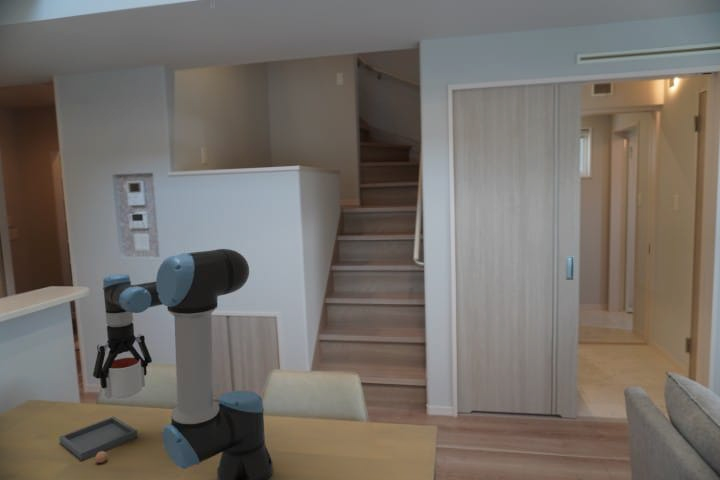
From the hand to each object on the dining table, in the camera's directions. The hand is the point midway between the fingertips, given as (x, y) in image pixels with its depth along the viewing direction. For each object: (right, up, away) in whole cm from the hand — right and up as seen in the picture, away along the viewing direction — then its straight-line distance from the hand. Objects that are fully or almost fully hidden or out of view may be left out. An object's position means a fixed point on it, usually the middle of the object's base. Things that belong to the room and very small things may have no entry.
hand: (125, 391), depth 154 cm
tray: (-10, -17, +2) cm, 20 cm away
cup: (0, -1, 0) cm, 1 cm away
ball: (-2, -18, -10) cm, 21 cm away
